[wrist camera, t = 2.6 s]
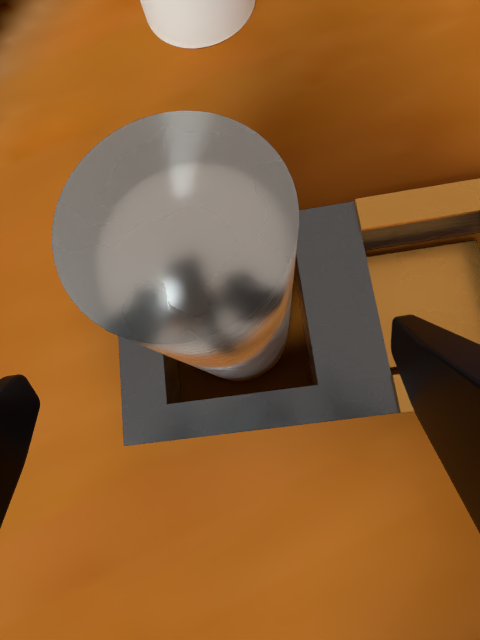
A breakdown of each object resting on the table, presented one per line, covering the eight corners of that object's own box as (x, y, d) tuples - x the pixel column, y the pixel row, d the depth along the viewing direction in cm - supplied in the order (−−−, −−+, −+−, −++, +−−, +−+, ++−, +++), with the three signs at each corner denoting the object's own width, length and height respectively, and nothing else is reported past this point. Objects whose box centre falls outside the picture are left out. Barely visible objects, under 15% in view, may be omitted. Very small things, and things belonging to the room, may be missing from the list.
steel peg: (301, 301, 19) (333, 142, 7) (268, 395, 18) (246, 383, 7) (211, 272, 20) (111, 88, 8) (175, 360, 19) (10, 296, 7)
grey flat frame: (514, 199, 19) (551, 166, 16) (575, 388, 17) (629, 385, 14) (133, 259, 21) (111, 239, 18) (144, 440, 18) (121, 446, 16)
